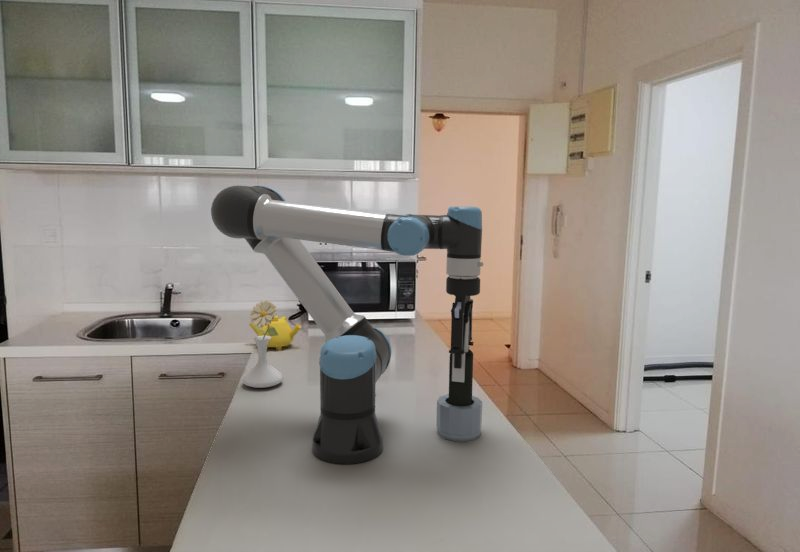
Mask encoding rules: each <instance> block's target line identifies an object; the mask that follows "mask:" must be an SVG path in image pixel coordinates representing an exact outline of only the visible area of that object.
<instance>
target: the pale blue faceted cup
mask: <svg viewBox="0 0 800 552" xmlns="http://www.w3.org/2000/svg"><path fill="white" fill-rule="evenodd" d="M482 417H483V401H482V400H481V399H480V398H479V397H477V396H474V395H472V405H469V406H453V405H450V404H449V393H447V394H444V395H441V396H439V397H438V398H437V400H436V433H437V435H438V436H439V437H441V438H443V439H445V440H448V441H451V442H461V443H462V442H471V441H475V440H477V439H479V437H481V434H482V433H481V432H482V421H483V419H482Z"/></svg>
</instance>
